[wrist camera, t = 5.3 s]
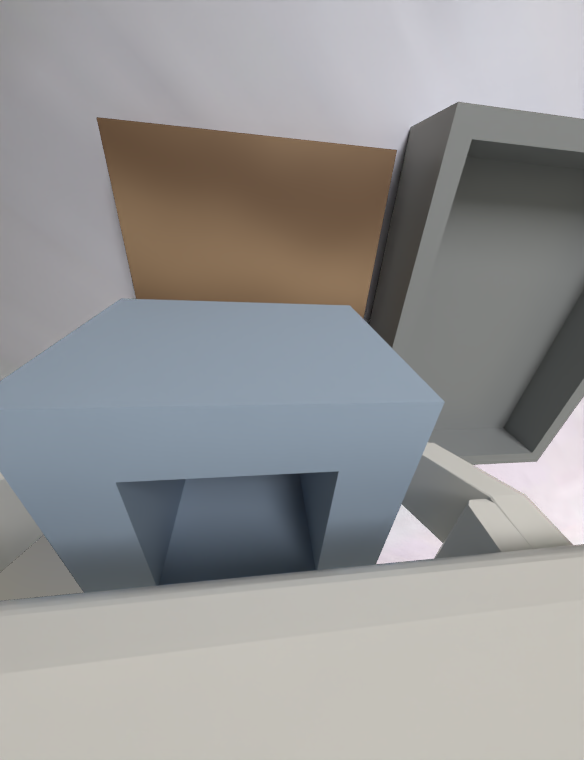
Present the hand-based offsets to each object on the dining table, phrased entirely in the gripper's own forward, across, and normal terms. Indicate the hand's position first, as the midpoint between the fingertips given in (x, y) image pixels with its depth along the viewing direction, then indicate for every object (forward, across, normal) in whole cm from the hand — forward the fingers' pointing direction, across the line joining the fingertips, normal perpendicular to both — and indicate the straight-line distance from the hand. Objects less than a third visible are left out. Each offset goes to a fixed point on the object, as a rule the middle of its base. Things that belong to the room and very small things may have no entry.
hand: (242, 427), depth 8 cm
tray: (+7, -12, -1) cm, 14 cm away
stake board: (+7, 0, -1) cm, 7 cm away
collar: (+2, 0, 0) cm, 2 cm away
